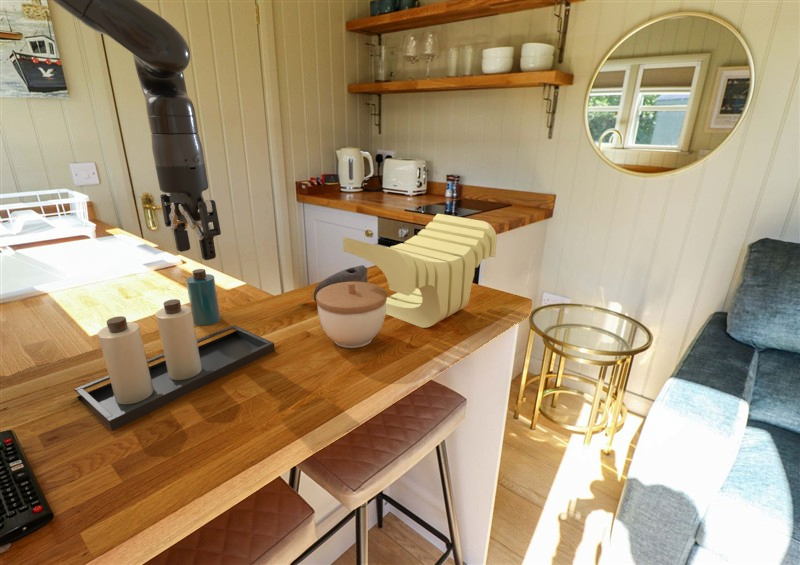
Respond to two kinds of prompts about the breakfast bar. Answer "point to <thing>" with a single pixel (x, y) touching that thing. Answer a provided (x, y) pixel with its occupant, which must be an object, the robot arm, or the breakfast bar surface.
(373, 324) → the lidded bowl
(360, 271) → the perforated stone tool
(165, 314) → the cream bottle
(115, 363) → the cream bottle
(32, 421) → the breakfast bar surface
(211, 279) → the teal bottle
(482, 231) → the slatted curved stool
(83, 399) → the tray
